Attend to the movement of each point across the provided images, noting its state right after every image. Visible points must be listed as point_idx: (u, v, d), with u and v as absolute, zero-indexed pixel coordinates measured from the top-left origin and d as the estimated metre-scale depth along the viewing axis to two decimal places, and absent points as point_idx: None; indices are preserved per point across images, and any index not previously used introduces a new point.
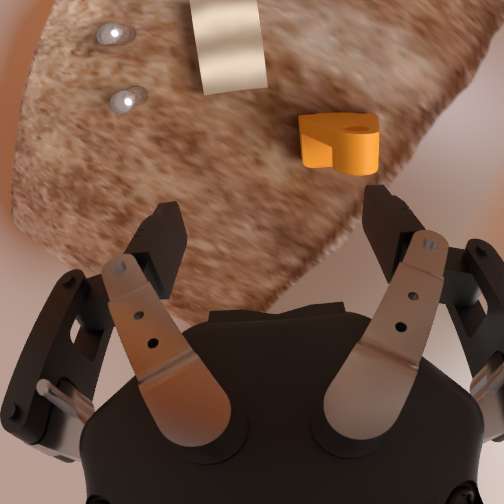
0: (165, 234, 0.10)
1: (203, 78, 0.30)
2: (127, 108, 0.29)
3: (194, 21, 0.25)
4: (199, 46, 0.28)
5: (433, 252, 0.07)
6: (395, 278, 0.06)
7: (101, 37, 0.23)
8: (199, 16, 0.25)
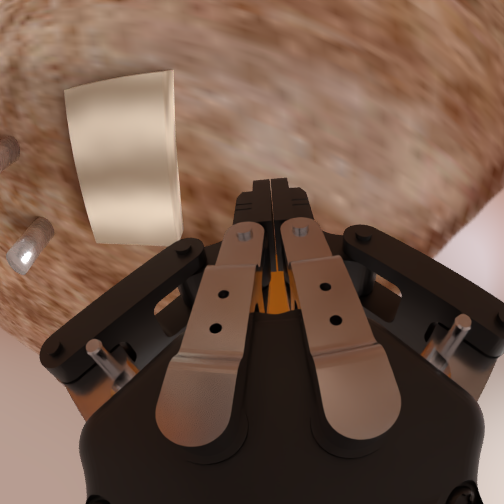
0: (271, 208, 0.11)
1: (92, 221, 0.22)
2: (25, 270, 0.21)
3: (71, 132, 0.17)
4: (81, 175, 0.19)
5: (296, 238, 0.08)
6: (298, 279, 0.06)
7: None
8: (77, 124, 0.16)
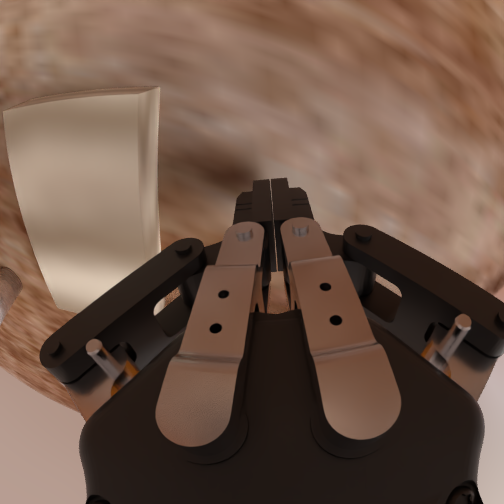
0: (271, 208, 0.11)
1: (50, 285, 0.15)
2: None
3: (14, 173, 0.10)
4: (30, 231, 0.13)
5: (295, 238, 0.08)
6: (298, 279, 0.06)
7: None
8: (20, 163, 0.10)
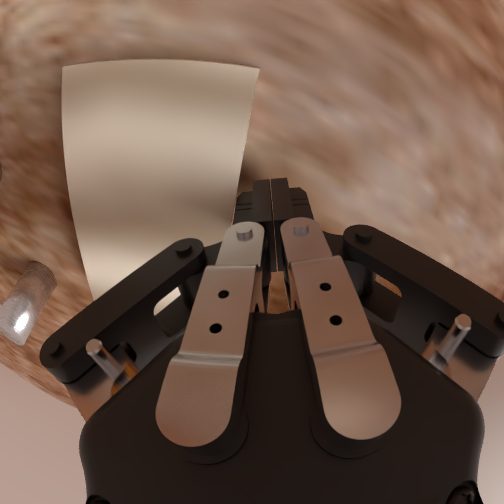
0: (271, 208, 0.11)
1: (91, 278, 0.15)
2: (22, 342, 0.14)
3: (67, 143, 0.10)
4: (78, 214, 0.12)
5: (296, 238, 0.08)
6: (297, 279, 0.06)
7: None
8: (78, 130, 0.09)
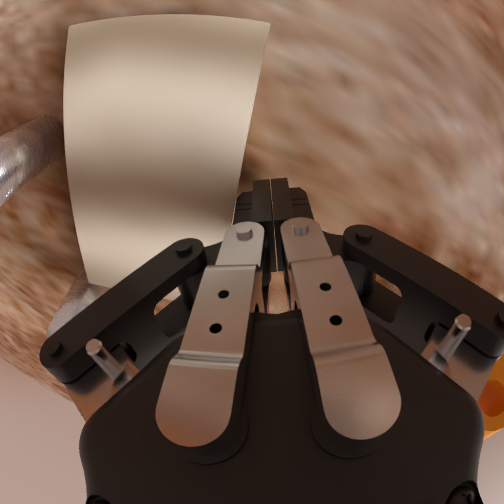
0: (271, 208, 0.11)
1: (84, 253, 0.14)
2: None
3: (67, 102, 0.09)
4: (74, 179, 0.11)
5: (296, 238, 0.08)
6: (298, 279, 0.06)
7: None
8: (80, 88, 0.08)
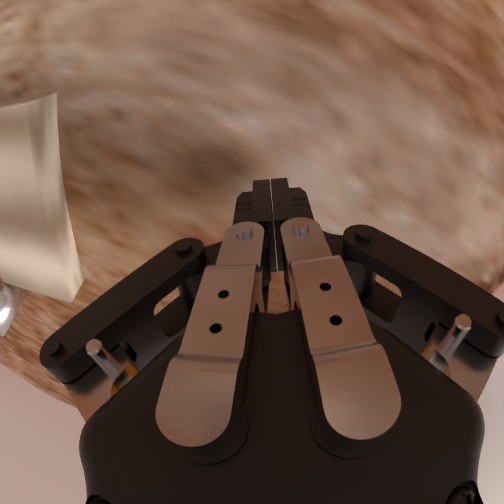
0: (271, 208, 0.11)
1: None
2: (2, 333, 0.15)
3: None
4: None
5: (296, 238, 0.08)
6: (298, 279, 0.06)
7: None
8: None
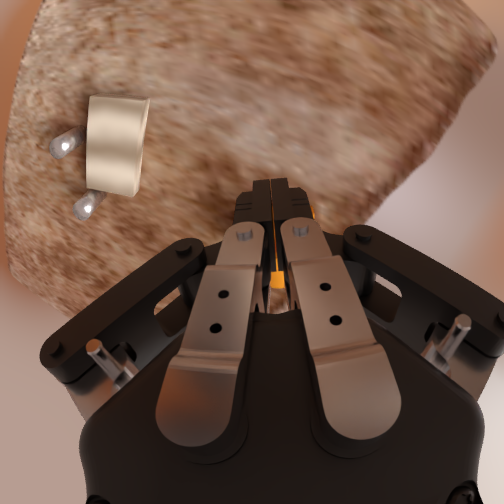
0: (271, 208, 0.11)
1: (87, 174, 0.35)
2: (87, 216, 0.36)
3: (89, 120, 0.30)
4: (88, 146, 0.33)
5: (295, 238, 0.08)
6: (297, 279, 0.06)
7: (53, 152, 0.29)
8: (93, 117, 0.30)
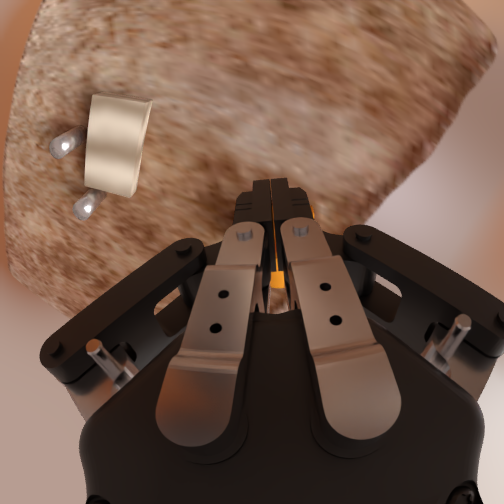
0: (271, 208, 0.11)
1: (86, 172, 0.35)
2: (87, 216, 0.36)
3: (90, 119, 0.30)
4: (88, 144, 0.32)
5: (295, 238, 0.08)
6: (298, 279, 0.06)
7: (53, 152, 0.29)
8: (95, 116, 0.30)
